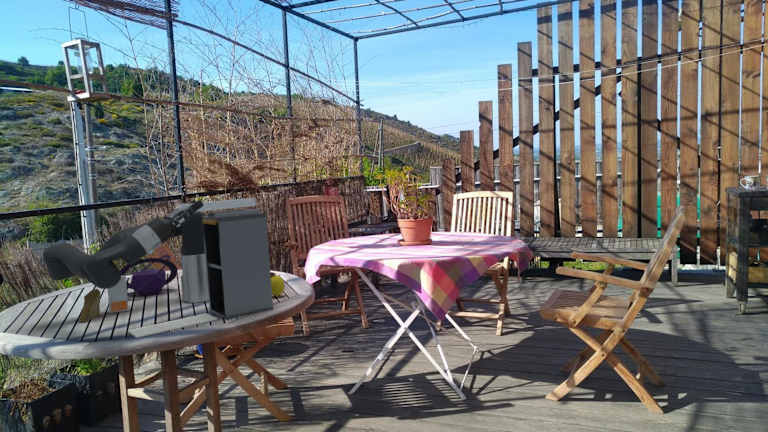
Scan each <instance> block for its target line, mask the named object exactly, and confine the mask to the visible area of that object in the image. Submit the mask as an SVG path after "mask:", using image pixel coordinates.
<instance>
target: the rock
mask: <svg viewBox="0 0 768 432" xmlns="http://www.w3.org/2000/svg"><path fill="white" fill-rule="evenodd" d="M83 298H84V299H83V300H84V302H83V305H82V306H83V307H82V308H81V312H80V315H79V316H80V317H79V320H78V322H79V323H86V322H88V321H91V320H93V319H94V318H97V317H99V316H100V315H101V307H100V305H101V291H100V289H99V288H98V289H97V288H96V289H92V290H90V291H89V292H88V293H87V294H85V295H84V297H83Z"/></svg>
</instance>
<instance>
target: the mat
mask: <svg viewBox="0 0 768 432" xmlns="http://www.w3.org/2000/svg"><path fill="white" fill-rule="evenodd" d="M217 320H219V319H218V318H217V317H215V316H213V315H211V314H209V313H207V312H206V313H202V314H197V315H193V316H188V317H183V318H179V319H174V320H173V319H172V320H169V321H165V322H160V323H157V324H151V325H146V326H141V327H138V328H137V327H136V328H133V329H128V330H127V332H128V333H129V334H131V335H132V336H133V337H135V338H137V339H138V338H141V337H145V336H146V337H147V336H151V335H155V334H158V333H164V332H169V331H173V330H177V329H181V328H186V327H191V326H195V325H199V324H204V323H208V322H211V321H212V322H213V321H217Z"/></svg>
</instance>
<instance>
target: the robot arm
mask: <svg viewBox="0 0 768 432" xmlns="http://www.w3.org/2000/svg"><path fill="white" fill-rule="evenodd" d="M190 203H194V204H192V205H191V206H190V207H187V208H186V209H185V210H180V211H179V210H178V208H176V209H174V210H172V211H171V212H170V213H167V214H166V215H164V216H163V218H162V217H159V216H156V217H154V218H153V219H151V220H150V221H148V222H147V223H144V224H143V223H142V224H138V225H136V226H131V227H128V228H124V229H122V230H118V231H115V233H113V234H112V235H111V236H109V238H108V239H107V240H106V241H105V242H104V243H103V245H102V246H101V247H100V248H98V250H97V251H96V252H94V253H92V254H88V253H85V252H84V251H83V250H80V249H79V248H78V247H76V246H75V245H73V244H71V243H69V242H62V243H61V242H60V243H56V244H54V245H53V244H52V245H51V246H49V247H46V248H45V249H44V251H43V252H42V259H43V261H44V264H45V266H46V270H47V271H48V274H49V276H50V279H51V280H52V281H63V280H68V279H70V278H72V277H75V276H77V277H79V278H82V279H84V280H87V281H88V282H90V283H91V284H92V285H94V286H95V287H97V288H98V289H102V290H108V288H112V287H114V286H115V285H117V284H118V283H119V281H120V279H121V272H120V270H121V269H120V268H118V265H116V263H115V261H118V260H122V261H123V262H125V264H126V265H127V264H129V265H131V264H134V263H135V262H137V261H138V260H140V259H143V258H144V257H145V256H147V255H146V254H148V253H150V252H151V251H153V252H154V251H155V250H156V249H158V248H159V247H161V246H162V245H163V244H164V243H166V242H167V241H168V240H170V239H173V238H177V237H181V246H180V258H181V269H182V274H181V275H180V283H181V285H180V286H181V297H182V302H185V303H189V304H195V303H203V302H207V301H209V295H208V283H207V271H206V260H205V248H204V236H203V225H202V216H206V215H205V213H203V211H198V212H196V211H197V210H198V209H200V208H201V207H203V203H202V200H201V199H200V200H199V199H198V200H196V199H193V200H191V201H190V202H188V203H187V204H190Z"/></svg>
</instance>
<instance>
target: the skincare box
mask: <svg viewBox="0 0 768 432" xmlns="http://www.w3.org/2000/svg"><path fill="white" fill-rule="evenodd" d="M126 281H127V276H126V274H125V275H124V276H121V279H120V281H119V283H118V284H117V285H115V286H114V287H112V288H108V289H107V296H108V297H107V299H108V307H109V308H108V309H109V314H113V313H121V312H129V310H130V309H129V308H130V307H129V300H128V299H129V298H128V297H129V296H127V292H128V291H127V285H126Z"/></svg>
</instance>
